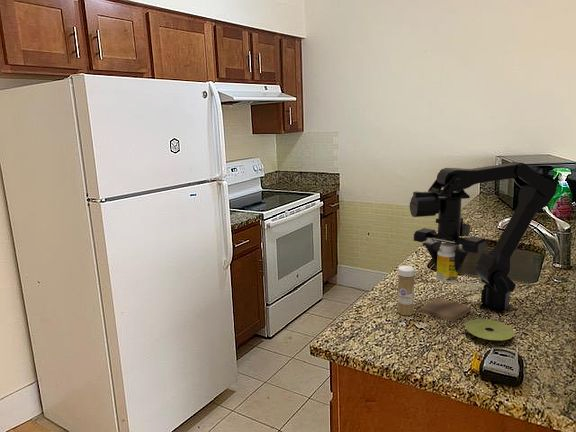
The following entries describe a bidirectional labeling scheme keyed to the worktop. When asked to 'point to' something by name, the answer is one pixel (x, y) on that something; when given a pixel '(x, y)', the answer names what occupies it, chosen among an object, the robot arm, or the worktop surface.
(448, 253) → the supplement bottle
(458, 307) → the walnut board
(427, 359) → the worktop surface
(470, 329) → the yellow-green flat disc
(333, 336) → the worktop surface
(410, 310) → the sprinkles bottle
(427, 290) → the worktop surface
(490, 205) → the worktop surface
